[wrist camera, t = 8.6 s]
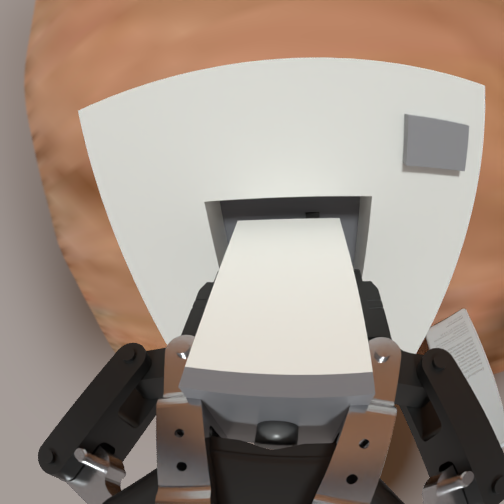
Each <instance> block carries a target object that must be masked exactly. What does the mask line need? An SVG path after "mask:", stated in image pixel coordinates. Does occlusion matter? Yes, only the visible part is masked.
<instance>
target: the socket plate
mask: <svg viewBox="0 0 504 504" xmlns="http://www.w3.org/2000/svg"><path fill="white" fill-rule="evenodd" d="M78 113H79V118H80V122H81V127H82V131H83V135H84V139H85V143H86V147H87V151H88V155H89V158H90V162H91V166H92V169H93V172H94V176H95V179H96V182H97V185H98V189H99V192H100V195H101V198H102V201H103V204H104V206H105V209H106V212H107V215H108V218H109V220H110V223H111V226H112V228H113V231H114V234H115V236H116V239H117V241H118V244H119V246H120V249H121V251H122V254H123V256H124V258H125V261H126V263H127V265H128V268H129V270H130V272H131V274H132V277H133V279H134V281H135V283H136V285H137V287H138V290H139V292H140V294H141V296H142V298H143V300H144V302H145V304H146V306H147V308H148V310H149V312H150V314H151V316H152V318H153V320H154V322H155V324H156V325H157V327H158V329H159V331H160V333H161V335H162V337H163V338H164V340H165V342H166V344H167V345H168V344H169V342H170V341H171V340H173V339H174V338H176V337H178V336H181V334H182V331H183V329H184V326H185V324H186V321H187V319H188V316H189V314H190V311H191V309H192V308H193V304H194V301H195V300H196V296H197V294H198V292H199V290H200V289H201V288H202V287H203V286H204V285H205V283H206V282H214V280H215V277H216V274H217V272H218V271H219V269H220V266H221V264H222V261H223V258H224V256H225V253H226V250H227V248H228V245H229V242H230V240H231V237H232V234H233V232H234V229H235V226H236V224H237V221H243V220H270V219H309V218H340V222H341V225H342V229H343V232H344V236H345V239H346V243H347V247H348V251H349V254H350V258H351V262H352V266H353V269H359V270H360V273H361V277H362V281H372V283H373V284H374V285H375V286H376V287H377V288H378V290H379V293H380V297H381V301H382V304H383V308H384V311H385V315H386V319H387V322H388V326H389V330H390V334H391V338H392V340H393V341H394V342H396V343H397V344H398V346H399V347H400V349H401V350H403V351H406V352H409V353H414V354H416V353H417V351H418V349H419V347H420V345H421V344H422V342H423V340H424V338H425V336H426V334H427V332H428V330H429V328H430V326H431V324H432V322H433V320H434V318H435V316H436V313H437V311H438V309H439V307H440V305H441V302H442V300H443V298H444V295H445V293H446V290H447V288H448V285H449V283H450V280H451V278H452V275H453V272H454V269H455V267H456V264H457V261H458V258H459V255H460V252H461V249H462V246H463V242H464V239H465V236H466V232H467V228H468V225H469V221H470V217H471V213H472V209H473V204H474V200H475V195H476V190H477V184H478V178H479V172H480V166H481V158H482V149H483V139H484V124H485V86H484V85H481V84H479V83H476V82H473V81H469V80H466V79H463V78H460V77H456V76H453V75H449V74H445V73H441V72H437V71H433V70H429V69H424V68H419V67H414V66H409V65H403V64H396V63H389V62H382V61H373V60H362V59H348V58H287V59H272V60H261V61H252V62H244V63H237V64H230V65H224V66H218V67H213V68H207V69H203V70H198V71H193V72H189V73H185V74H181V75H177V76H173V77H169V78H165V79H162V80H158V81H155V82H152V83H148V84H145V85H142V86H139V87H136V88H133V89H130V90H127V91H125V92H122V93H119V94H117V95H114V96H111V97H109V98H106V99H104V100H101V101H99V102H97V103H94V104H92V105H90V106H88V107H85V108H83V109H81V110H79V111H78Z"/></svg>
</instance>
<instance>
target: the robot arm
mask: <svg viewBox="0 0 504 504" xmlns="http://www.w3.org/2000/svg"><path fill="white" fill-rule="evenodd" d="M353 270H354V275H355V279H356V283H357V287H358V292H359V297H360V301H361V306H362V311H363V316H364V321H365V327H366V332H367V338H368V344H369V350H370V356H371V363H372V370H373V377H374V385H375V396H374V397H373V399H372V401H371V402H370V404H369V405H350V407H349V409H348V411H347V413H346V415H345V417H344V419H343V421H342V422H341V424H340V426H339V428H338V430H337V432H336V434H335V435H334V437H333V439H332V441H331V443H315V444H301V445H296V446H291V447H286V448H281V449H275V450H269V449H266V448H263V447H259V446H256V445H253V444H250V443H247V442H244V441H242V440H236V439H228V438H227V435H226V434H225V433H224V431H223V430H222V428H221V427H220V426H219V424H218V423H217V421H216V420H215V419H214V417H213V416H212V414H211V413H210V412H209V410H208V409H207V407H206V406H205V404H204V403H203V401H202V400H201V399H194V398H186V397H185V395H184V394H183V393H182V391H181V390H180V388H179V387H178V386H179V383H180V380H181V377H182V374H183V371H184V368H185V365H186V362H187V359H188V356H189V353H190V350H191V347H192V344H193V342H194V339H195V336H196V333H197V330H198V327H199V324H200V322H201V319H202V316H203V313H204V310H205V308H206V305H207V302H208V299H209V296H210V294H211V291H212V288H213V285H214V283H215V280H216V277H217V274H218V272H219V271H218V272H217V274H216V277H215V280H214V282H206V283H205V285H204V286H203V287H202V288H201V289H200V290H199V292H198V294H197V296H196V300H195V301H194V304H193V308H192V309H191V311H190V314H189V316H188V319H187V321H186V324H185V326H184V329H183V331H182V334H181V336H178V337H176V338H174V339H173V340H171V341H170V342H169V344H168V345H167V347H166V348H162V349H156V350H150V351H146V350H145V349H144V347H143V346H142V345H140V344H138V343H129V344H126V345H124V346H122V347H121V348H120V349H119V350H118V351H117V352H116V353H115V355H114V356H113V357H112V358H111V359H110V361H109V362H108V363H107V364H106V365H105V367H104V368H103V369H102V370H101V371H100V372H99V374H98V375H97V376H96V377H95V379H94V380H93V381H92V382H91V383H90V385H89V386H88V387H87V388H86V390H85V391H84V392H83V393H82V394H81V396H80V397H79V398H78V399H77V401H76V402H75V403H74V404H73V406H72V407H71V408H70V409H69V411H68V412H67V413H66V415H65V416H64V417H63V418H62V420H61V421H60V422H59V424H58V425H57V426H56V427H55V429H54V430H53V431H52V433H51V434H50V435H49V437H48V438H47V439H46V440H45V442H44V443H43V445H42V446H41V447H40V449H39V452H38V461H39V464H40V466H41V468H42V469H43V470H44V471H45V472H46V473H48V474H50V475H52V476H55V477H57V478H59V479H60V480H62V481H65V482H66V483H67V484H69V486H70V487H71V488H72V489H73V490H74V491H75V492H76V493H77V494H78V495H79V496H80V497H81V498H82V499H83V500H84V501H85V502H86V503H87V504H404V503H403V502H402V501H401V500H400V499H399V498H398V496H396V495H395V493H394V492H393V491H392V490H391V489H390V488H389V487H388V486H387V485H386V484H385V483H384V482H383V481H382V480H381V479H380V475H381V472H382V469H383V466H384V462H385V459H386V455H387V452H388V448H389V445H390V440H391V437H392V433H393V428H394V424H395V419H396V412H397V410H396V407H394V404H398V405H399V406H400V408H401V410H402V412H403V414H404V416H405V419H406V421H407V423H408V426H409V428H410V430H411V433H412V435H413V437H414V439H415V441H416V444H417V447H418V449H419V451H420V454H421V456H422V459H423V461H424V464H425V466H426V469H427V471H428V474H429V477H430V478H429V479H428V480H427V482H426V483H425V485H424V488H423V493H422V495H423V504H499V503H500V502H501V501H502V500H504V453H503V451H502V448H501V446H500V443H499V441H498V439H497V437H496V435H495V432H494V430H493V428H492V426H491V424H490V422H489V420H488V418H487V416H486V414H485V412H484V410H483V408H482V406H481V404H480V403H479V401H478V399H477V397H476V395H475V393H474V392H473V390H472V388H471V386H470V385H469V383H468V381H467V380H466V378H465V376H464V375H463V373H462V371H461V370H460V368H459V366H458V365H457V363H456V362H455V360H454V358H453V357H452V355H451V354H450V353H449V352H448V351H446V350H444V349H441V348H432V349H430V350H428V351H427V352H426V353H425V354H424V355H419V354H414V353H409V352H406V351H403V350H401V349H400V347H399V346H398V344H397V343H396V342H394V341H393V340H392V338H391V334H390V330H389V326H388V322H387V319H386V315H385V311H384V308H383V304H382V301H381V297H380V293H379V290H378V288H377V287H376V286H375V285H374V284H373V283H372V281H362V277H361V273H360V270H359V269H353ZM155 416H156V449H157V468H156V469H155V470H153V471H152V472H151V473H149V474H147V475H146V476H144V477H143V478H141V479H139V480H138V481H136V482H135V483H133V484H132V485H130V486H128V487H127V488H125V489H124V490H122V491H121V488H120V484H121V480H122V479H123V478H124V477H125V476H126V472H125V470H124V465H123V461H124V459H125V458H126V456H127V455H128V454H129V452H130V451H131V449H132V448H133V447H134V445H135V444H136V442H137V441H138V440H139V438H140V436H141V435H142V434H143V433H144V431H145V430H146V428H147V427H148V425H149V424H150V423H151V421H152V420H153V418H154V417H155Z"/></svg>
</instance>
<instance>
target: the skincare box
mask: <svg viewBox="0 0 504 504" xmlns="http://www.w3.org/2000/svg"><path fill="white" fill-rule="evenodd" d="M425 338H426V341H427V344H428V347H429V350H430V349H432V348H441V349H444V350H446V351H448V352H449V353H450V354H451V355H452V357H453V358H454V360H455V362H456V363H457V365H458V366H459V368H460V370H461V371H462V373H463V375H464V376H465V378H466V380H467V381H468V383H469V385H470V386H471V388H472V390H473V392H474V393H475V395H476V397H477V399H478V401H479V403H480V404H481V406H482V408H483V410H484V412H485V414H486V416H487V418H488V420H489V422H490V424H491V426H492V428H493V430H494V432H495V435H496V437H497V439H498V441H499V443H500V446H501V448H503V447H504V410H503V406H502V402H501V399H500V395H499V392H498V389H497V385H496V382H495V379H494V376H493V373H492V370H491V367H490V365H489V362H488V359H487V357H486V354H485V351H484V349H483V346H482V344H481V342H480V339H479V337H478V335H477V332H476V330H475V328H474V326H473V324H472V321H471V319H470V317H469V315H468V313H467V311H466V309H461V310H460V311H458V312H456V313H455V314H453V315H452V316H450V317H448V318H447V319H445V320H443V321H441V322H439V323H438V324H436V325H434V326H432V327H430V328H429V330H428V332H427V334H426V336H425Z"/></svg>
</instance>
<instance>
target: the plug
mask: <svg viewBox="0 0 504 504" xmlns="http://www.w3.org/2000/svg"><path fill="white" fill-rule="evenodd" d="M178 387H179V388H180V390H181V391H182V393H183V394H184V395H185V397H186V398H194V399H201V400H202V401H203V403H204V404H205V406H206V407H207V409H208V410H209V412H210V413H211V414H212V416H213V417H214V419H215V420H216V421H217V423H218V424H219V426H220V427H221V428H222V430H223V431H224V433H225V434H226V435H227V438H228V439H236V440H242V441H244V442H253V443H254V444H255V445H257V446H259V447H263V448H267V449H281V448H286V447H291V446H296V445H301V444H315V443H331V441H332V439H333V437H334V435H335V434H336V432H337V430H338V428H339V426H340V424H341V422H342V421H343V419H344V417H345V415H346V413H347V411H348V409H349V407H350V405H369V404H370V402H371V401H372V399H373V397H374V396H375V385H374V377H373V370H372V363H371V356H370V350H369V344H368V338H367V332H366V327H365V321H364V316H363V311H362V306H361V301H360V297H359V292H358V287H357V283H356V279H355V275H354V270H353V266H352V262H351V258H350V254H349V251H348V247H347V243H346V239H345V236H344V232H343V229H342V225H341V222H340V218H309V219H270V220H243V221H237V224H236V226H235V229H234V232H233V234H232V237H231V240H230V242H229V245H228V248H227V250H226V253H225V256H224V258H223V261H222V264H221V266H220V269H219V272H218V274H217V277H216V280H215V283H214V285H213V288H212V291H211V294H210V296H209V299H208V302H207V305H206V308H205V310H204V313H203V316H202V319H201V322H200V324H199V327H198V330H197V333H196V336H195V339H194V342H193V344H192V347H191V350H190V353H189V356H188V359H187V362H186V365H185V368H184V371H183V374H182V377H181V380H180V383H179V386H178Z"/></svg>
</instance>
